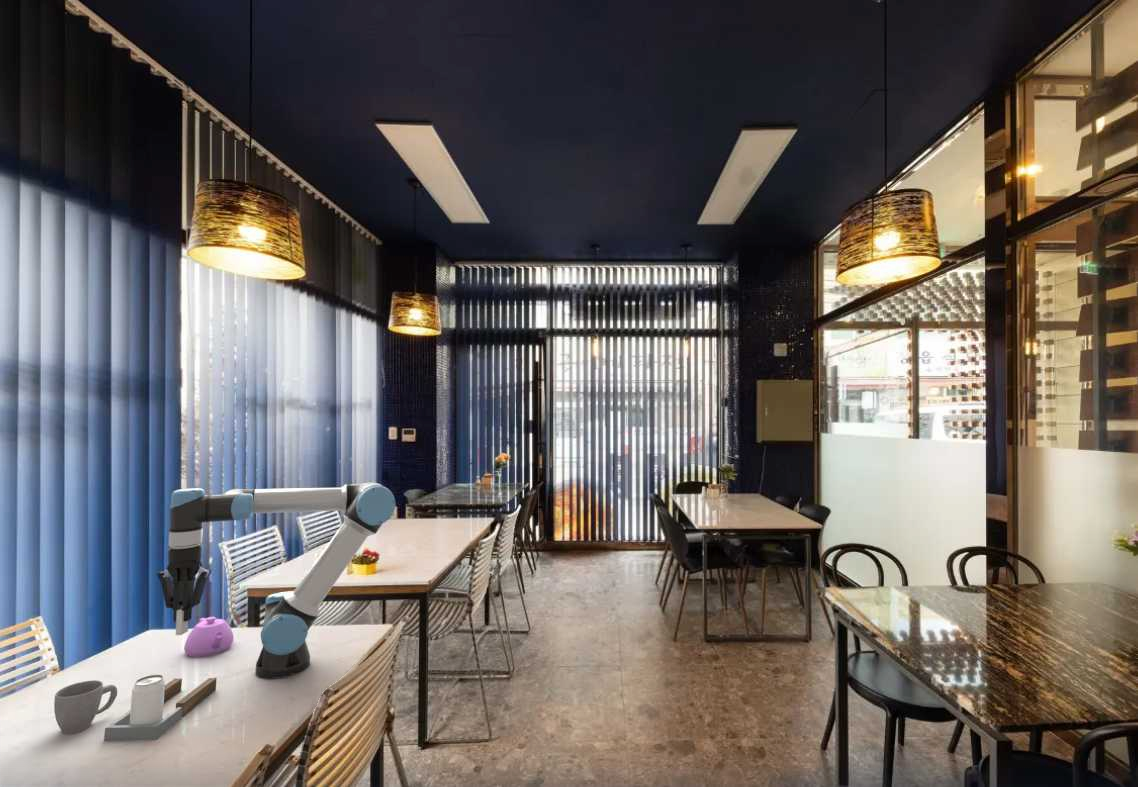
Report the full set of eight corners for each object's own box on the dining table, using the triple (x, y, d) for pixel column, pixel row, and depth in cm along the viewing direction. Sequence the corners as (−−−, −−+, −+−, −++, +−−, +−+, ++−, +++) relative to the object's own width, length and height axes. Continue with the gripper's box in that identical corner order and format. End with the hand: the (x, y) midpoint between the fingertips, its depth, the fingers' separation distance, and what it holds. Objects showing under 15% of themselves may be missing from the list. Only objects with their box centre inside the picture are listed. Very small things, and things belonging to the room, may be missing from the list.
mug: (57, 743, 124) (60, 701, 125) (47, 731, 129) (50, 690, 129) (121, 720, 134) (124, 681, 135) (109, 709, 139) (112, 672, 139)
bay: (181, 719, 135) (182, 707, 135) (156, 739, 126) (157, 726, 126) (132, 720, 134) (133, 708, 134) (103, 740, 125) (104, 727, 125)
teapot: (194, 666, 165) (196, 631, 166) (176, 648, 178) (178, 616, 178) (243, 652, 175) (245, 619, 176) (223, 636, 188) (224, 606, 189)
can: (144, 738, 126) (148, 687, 127) (121, 736, 127) (125, 684, 128) (168, 723, 133) (172, 674, 133) (146, 721, 133) (149, 672, 134)
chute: (215, 690, 150) (216, 677, 150) (183, 717, 136) (184, 703, 136) (173, 691, 149) (174, 678, 149) (136, 718, 135) (137, 703, 135)
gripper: (218, 542, 148) (215, 627, 147) (170, 543, 147) (166, 628, 146) (201, 548, 141) (198, 637, 139) (150, 549, 140) (146, 639, 138)
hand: (181, 633), depth 143 cm, fingers closed
